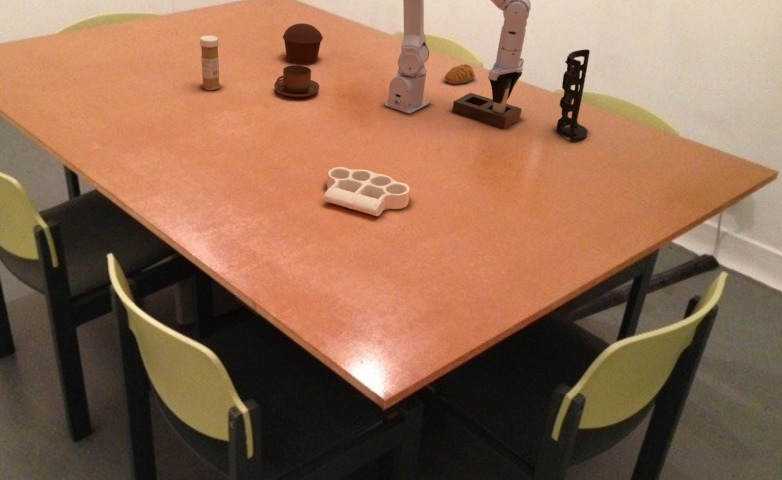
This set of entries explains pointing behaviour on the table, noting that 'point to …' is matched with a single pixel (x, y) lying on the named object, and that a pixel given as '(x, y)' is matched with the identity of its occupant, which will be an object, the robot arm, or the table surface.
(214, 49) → the sprinkles bottle
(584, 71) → the holder
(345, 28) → the table surface
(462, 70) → the pastry
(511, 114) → the block
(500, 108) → the marker
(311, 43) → the muffin
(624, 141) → the table surface
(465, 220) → the table surface
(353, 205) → the knuckle duster
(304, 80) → the cup and saucer
